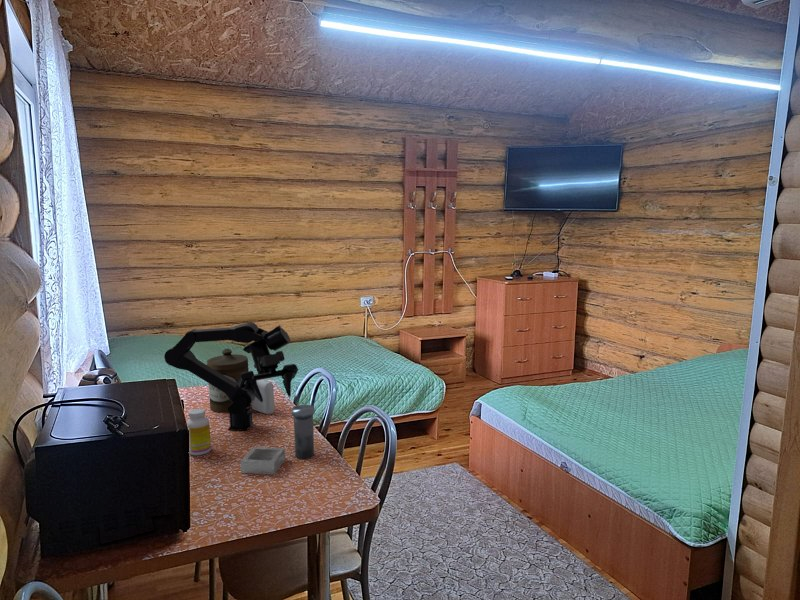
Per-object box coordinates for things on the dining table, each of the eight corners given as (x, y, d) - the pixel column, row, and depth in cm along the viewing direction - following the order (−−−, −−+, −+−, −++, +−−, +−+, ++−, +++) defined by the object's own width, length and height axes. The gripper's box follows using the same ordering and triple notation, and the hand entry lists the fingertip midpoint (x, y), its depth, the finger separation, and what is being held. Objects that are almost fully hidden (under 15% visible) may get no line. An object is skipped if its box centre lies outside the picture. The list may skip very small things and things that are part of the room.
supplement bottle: (215, 451, 172) (212, 410, 170) (194, 458, 167) (191, 416, 165) (204, 445, 176) (201, 405, 174) (184, 451, 172) (181, 411, 170)
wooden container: (201, 410, 208) (197, 352, 204) (228, 397, 221) (224, 343, 218) (233, 415, 202) (230, 355, 199) (259, 402, 216) (256, 346, 212)
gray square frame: (241, 473, 157) (240, 461, 157) (253, 458, 167) (253, 446, 166) (274, 474, 156) (274, 462, 156) (285, 459, 166) (284, 448, 165)
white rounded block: (250, 409, 208) (248, 376, 206) (259, 406, 211) (258, 374, 209) (266, 415, 201) (264, 382, 199) (276, 412, 204) (274, 379, 203)
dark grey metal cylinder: (290, 459, 165) (288, 412, 163) (297, 449, 172) (296, 404, 169) (312, 460, 165) (310, 413, 162) (318, 451, 171) (317, 405, 169)
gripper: (238, 347, 175) (252, 391, 167) (294, 339, 185) (310, 380, 178) (232, 366, 182) (245, 409, 175) (286, 358, 193) (300, 397, 185)
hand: (276, 398), depth 178 cm, fingers open, 9 cm apart
